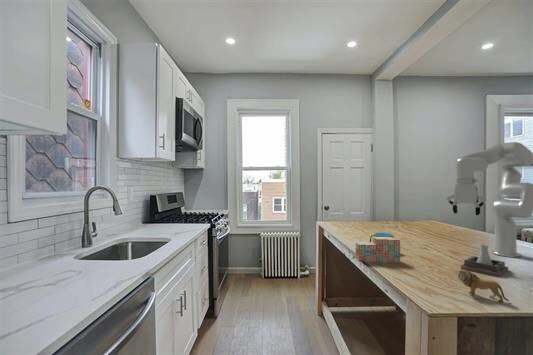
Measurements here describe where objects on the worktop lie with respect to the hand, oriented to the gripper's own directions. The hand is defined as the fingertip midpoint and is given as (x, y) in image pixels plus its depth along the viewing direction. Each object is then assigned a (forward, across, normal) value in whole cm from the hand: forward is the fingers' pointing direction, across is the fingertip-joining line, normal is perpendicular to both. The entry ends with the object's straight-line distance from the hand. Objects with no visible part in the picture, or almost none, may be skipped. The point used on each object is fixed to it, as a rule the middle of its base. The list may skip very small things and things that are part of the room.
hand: (466, 214), depth 145 cm
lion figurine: (+24, -18, +48) cm, 57 cm away
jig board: (+25, -9, +8) cm, 28 cm away
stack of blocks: (+24, +30, +36) cm, 53 cm away
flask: (+24, -9, +8) cm, 27 cm away
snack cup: (+25, +39, +14) cm, 48 cm away
